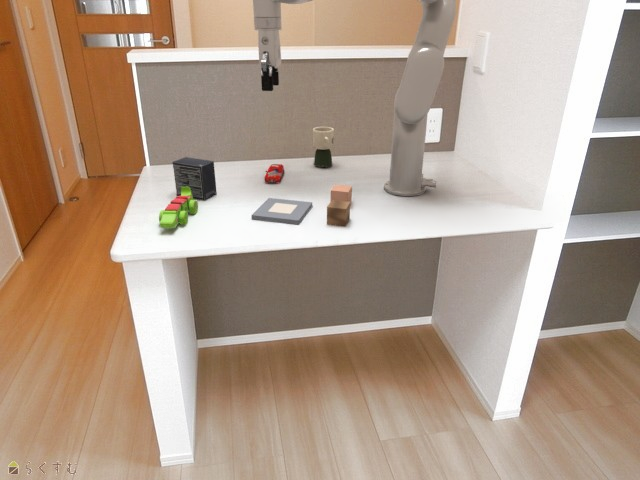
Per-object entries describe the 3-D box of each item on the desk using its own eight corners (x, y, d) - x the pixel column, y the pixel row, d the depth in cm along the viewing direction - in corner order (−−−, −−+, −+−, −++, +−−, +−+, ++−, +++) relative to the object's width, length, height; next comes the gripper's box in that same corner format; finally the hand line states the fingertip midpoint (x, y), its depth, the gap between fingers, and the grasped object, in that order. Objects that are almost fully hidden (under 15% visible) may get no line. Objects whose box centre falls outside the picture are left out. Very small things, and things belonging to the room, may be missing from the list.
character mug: (337, 170, 169) (337, 132, 163) (316, 171, 168) (316, 133, 162) (329, 160, 179) (329, 124, 173) (309, 162, 177) (309, 125, 171)
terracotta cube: (351, 202, 143) (352, 186, 141) (347, 208, 139) (348, 192, 136) (334, 200, 144) (334, 184, 142) (330, 207, 140) (330, 190, 138)
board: (312, 206, 140) (312, 201, 139) (298, 224, 129) (298, 220, 128) (268, 201, 143) (268, 197, 142) (251, 219, 132) (251, 214, 131)
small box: (218, 194, 148) (215, 160, 144) (205, 201, 143) (201, 166, 139) (189, 189, 152) (185, 155, 148) (175, 195, 147) (171, 161, 143)
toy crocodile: (178, 235, 123) (175, 212, 120) (152, 234, 124) (149, 211, 121) (203, 205, 141) (201, 185, 138) (180, 204, 141) (178, 184, 139)
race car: (279, 186, 156) (279, 173, 154) (262, 185, 157) (262, 173, 155) (286, 172, 168) (286, 160, 166) (270, 171, 168) (270, 160, 166)
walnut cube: (349, 219, 132) (350, 202, 130) (345, 227, 128) (346, 209, 125) (331, 217, 133) (331, 200, 131) (326, 225, 129) (326, 207, 127)
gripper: (275, 26, 130) (278, 93, 137) (285, 22, 145) (287, 83, 153) (247, 25, 130) (251, 92, 138) (260, 22, 146) (263, 83, 153)
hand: (270, 87), depth 145 cm, fingers open, 9 cm apart
